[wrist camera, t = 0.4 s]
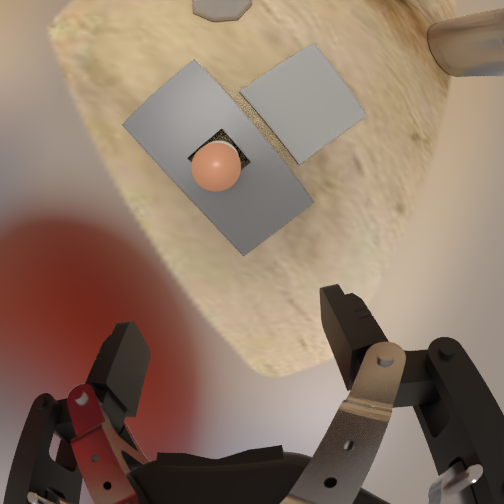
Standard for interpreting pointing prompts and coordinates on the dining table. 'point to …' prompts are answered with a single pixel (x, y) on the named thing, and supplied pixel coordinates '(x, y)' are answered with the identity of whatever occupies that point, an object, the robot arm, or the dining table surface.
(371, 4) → the dining table surface
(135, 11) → the dining table surface
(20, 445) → the robot arm
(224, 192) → the grey socket block
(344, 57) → the dining table surface
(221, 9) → the flask
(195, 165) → the plug
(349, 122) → the mat
